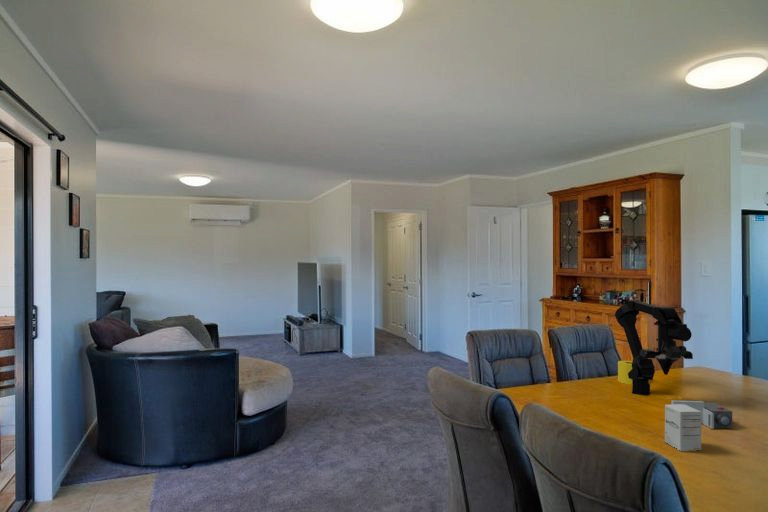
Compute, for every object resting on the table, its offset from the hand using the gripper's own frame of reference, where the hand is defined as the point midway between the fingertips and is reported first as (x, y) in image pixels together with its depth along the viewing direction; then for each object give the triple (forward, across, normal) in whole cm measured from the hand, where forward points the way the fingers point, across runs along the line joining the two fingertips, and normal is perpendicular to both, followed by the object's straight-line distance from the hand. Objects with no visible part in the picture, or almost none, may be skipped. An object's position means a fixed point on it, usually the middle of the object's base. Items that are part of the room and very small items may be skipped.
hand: (665, 374), depth 194 cm
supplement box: (+12, -18, -46) cm, 51 cm away
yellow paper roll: (+12, 0, +33) cm, 35 cm away
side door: (+12, -4, -26) cm, 29 cm away
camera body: (+12, +5, -24) cm, 27 cm away
